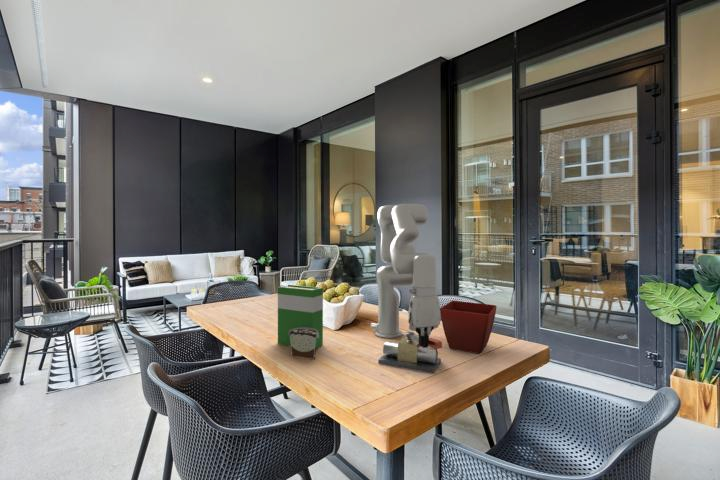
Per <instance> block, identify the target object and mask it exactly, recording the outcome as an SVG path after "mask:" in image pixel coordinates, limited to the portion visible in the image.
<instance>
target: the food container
mask: <svg viewBox="0 0 720 480" xmlns="http://www.w3.org/2000/svg"><path fill="white" fill-rule="evenodd" d="M288 335H290V344H291V346H290V352H291V354H290V355H291V357H293V358H299V357H300V358H302V359H308V360H315V359H316V356H317V355H316V354H317V348H316V346H317V339H318V338H319V333H318V330H316V329H314V328H308V327H302V328H294V329H291V330H289V333H288Z"/></svg>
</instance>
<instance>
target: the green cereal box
mask: <svg viewBox="0 0 720 480" xmlns="http://www.w3.org/2000/svg"><path fill="white" fill-rule="evenodd" d="M323 312H324V288H323V287H321V286H320V287H318V286H309V285H297V284H287V286H277V344H278V345H284V346H289V347H291V344H290V335H288V333H289V330H291V329H294V328H302V327H308V328H314V329H316V330H318V333H319V338H318V339H317V346H316V349H317V347H318V348H320V347H321V346H323V345H324V344H323V343H324V340H323V339H324V338H323V337H324V334H323V333H324V331H323V330H324V329H323V327H324V326H323V325H324V323H323V322H324V319H323V318H324V315H323V314H324V313H323Z"/></svg>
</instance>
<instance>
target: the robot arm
mask: <svg viewBox="0 0 720 480" xmlns="http://www.w3.org/2000/svg"><path fill="white" fill-rule="evenodd" d="M428 217H429V213H428V210H427V208H426V207H425V205H423V204H420V203H419V204H418V203H399V204H387V205H386V204H385V205H383V206H380V207H379V208H378V210H377V222H378V225H379V228H380V258H381V259H380V260H381V261H382V262H383V263H385V264H391V265H383V266H380V267H379V268H378V269H377V271H376V280H377V281H376V282H377V290H378V291H377V292H378V293H377V294H378V299H377V300H378V305H377V306H378V307H377V308H378V309H377V310H378V311H377V312H378V316H377V317H378V318H377V320H378V321H377V323H374V322H371V323H370V329H375V330H374V335H375V336H377V337H379V338H384V339H394V338H395V339H396V338H400V337H401V336H402V335H403V331H402V330H400V296H399V293H398V292H397V290H396V289H395V287H396V288H397V287H410V286H412V288H410V289H409V293H410V294H412V295H411V296H410V299H409V300H410V301H409V304H408V305H409V306H408V316H407V317H408V324H409V325H408V330H410V331H411V332H416V334H417V335H419V345H420V346H421V347H423V348H425V347H426V348H429V347H428V344H429V338H430V336H431V333H432V331H433V330H435V329H437V328H439V326H440V325H441V322H442V319H441V313H440V308H441V306H440V305H441V304H440V300H439V296H438V295H437V294H436V293H437V292H436V291H437V285H436V283H437V282H436V279H437V278H436V277H437V259H436V257H435V256H434V255H431V254H429V253H427V252H416V248H415V245H414V244H413V243H414V241H416V240H417V239H418V238H419V236H420V230H419V227H418V226H424V225H426V223H427V221H428V219H429V218H428Z"/></svg>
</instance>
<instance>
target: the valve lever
mask: <svg viewBox="0 0 720 480" xmlns="http://www.w3.org/2000/svg"><path fill="white" fill-rule="evenodd" d="M405 337H406V339H409V340H415V341H418V342H419V334H417V333H415V331H407V332H405ZM427 348H434V349H437V350H439V349H442V348H443V341H442V340H439V339H436V338H433V337H429V344H428V347H427Z"/></svg>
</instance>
